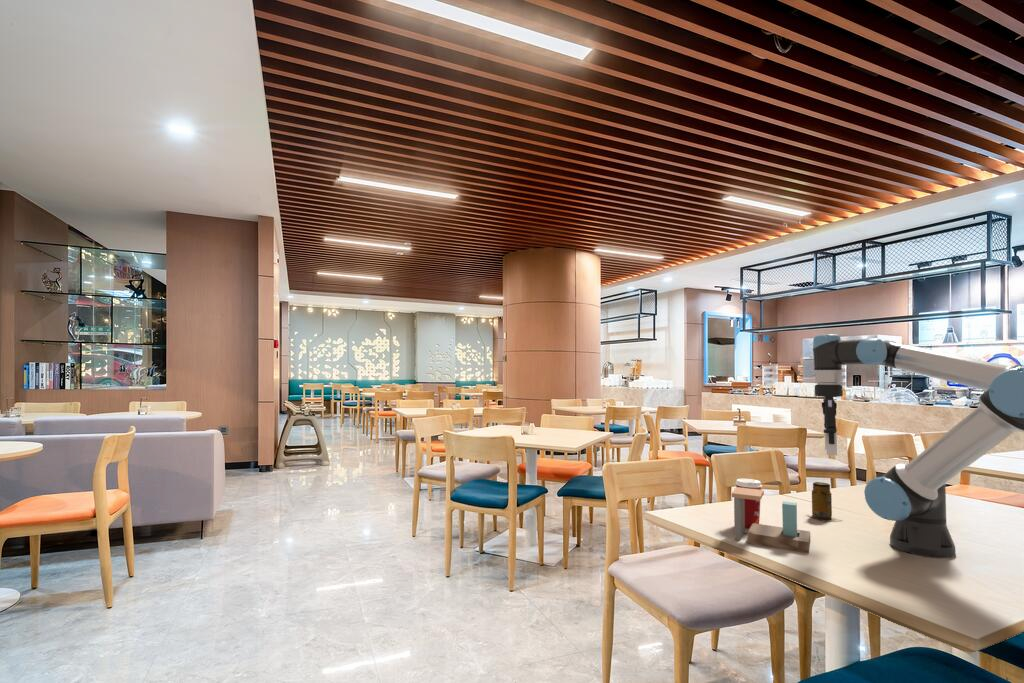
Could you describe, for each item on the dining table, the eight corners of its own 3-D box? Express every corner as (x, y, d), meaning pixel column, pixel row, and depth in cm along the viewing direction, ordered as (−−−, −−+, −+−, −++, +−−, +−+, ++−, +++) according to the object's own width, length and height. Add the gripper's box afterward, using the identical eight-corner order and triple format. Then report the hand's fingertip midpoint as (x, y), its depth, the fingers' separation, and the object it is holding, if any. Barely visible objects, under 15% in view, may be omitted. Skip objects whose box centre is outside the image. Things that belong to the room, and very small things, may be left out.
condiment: (822, 514, 191) (822, 481, 191) (842, 521, 182) (841, 486, 183) (805, 515, 189) (804, 481, 190) (824, 522, 181) (823, 486, 181)
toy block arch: (764, 535, 166) (763, 490, 166) (760, 544, 157) (760, 496, 158) (737, 531, 170) (736, 487, 170) (732, 539, 161) (731, 493, 162)
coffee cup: (765, 530, 170) (764, 483, 171) (738, 529, 172) (737, 482, 173) (759, 523, 179) (758, 478, 179) (733, 521, 180) (732, 477, 181)
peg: (797, 543, 158) (796, 502, 159) (796, 546, 155) (795, 505, 156) (784, 541, 160) (783, 501, 161) (783, 544, 157) (782, 503, 157)
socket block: (810, 541, 160) (810, 531, 160) (808, 553, 150) (808, 542, 150) (752, 532, 168) (752, 523, 168) (747, 543, 158) (747, 532, 158)
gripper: (813, 383, 179) (816, 446, 177) (815, 384, 157) (817, 456, 155) (840, 383, 175) (842, 448, 173) (844, 384, 153) (848, 458, 152)
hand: (831, 452), depth 164 cm, fingers open, 13 cm apart
